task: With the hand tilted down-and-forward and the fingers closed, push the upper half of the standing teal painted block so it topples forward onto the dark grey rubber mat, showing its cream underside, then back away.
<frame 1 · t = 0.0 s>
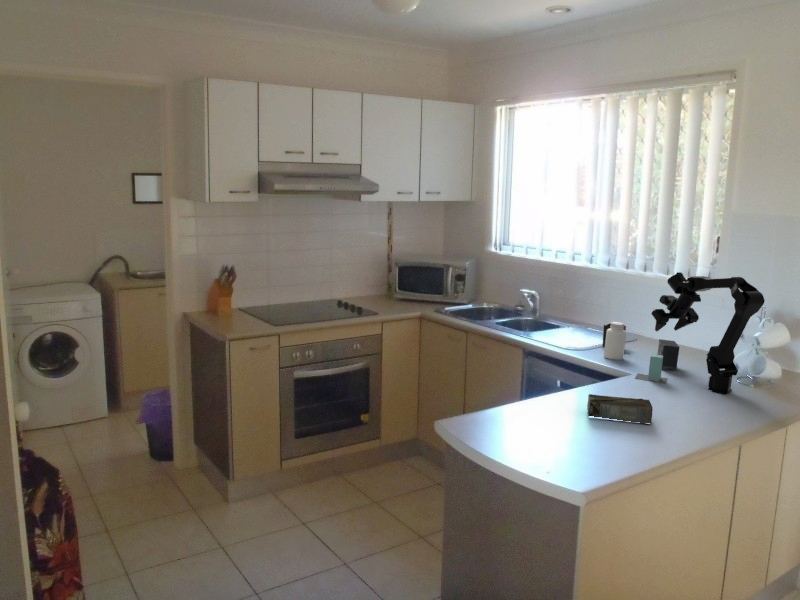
hand: (665, 330, 266), 15 cm above the worktop, tool tilted 35°, fingers open, 9 cm apart
pill bottle: (613, 358, 279), on the worktop
mat: (651, 379, 250), on the worktop
beverage carton: (617, 419, 209), on the worktop
block: (654, 379, 250), resting on mat
small box: (666, 368, 267), on the worktop
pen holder: (612, 347, 296), on the worktop
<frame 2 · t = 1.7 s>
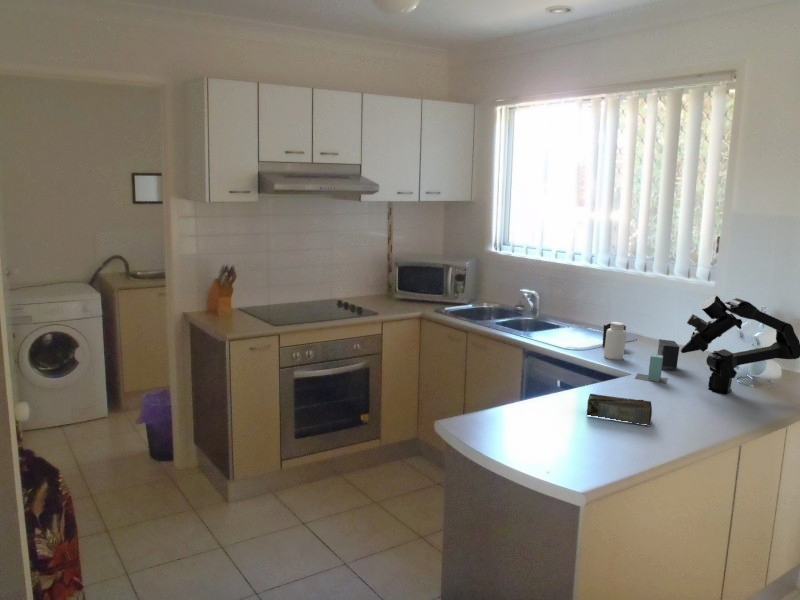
hand: (681, 351, 244), 13 cm above the worktop, tool tilted 45°, fingers closed
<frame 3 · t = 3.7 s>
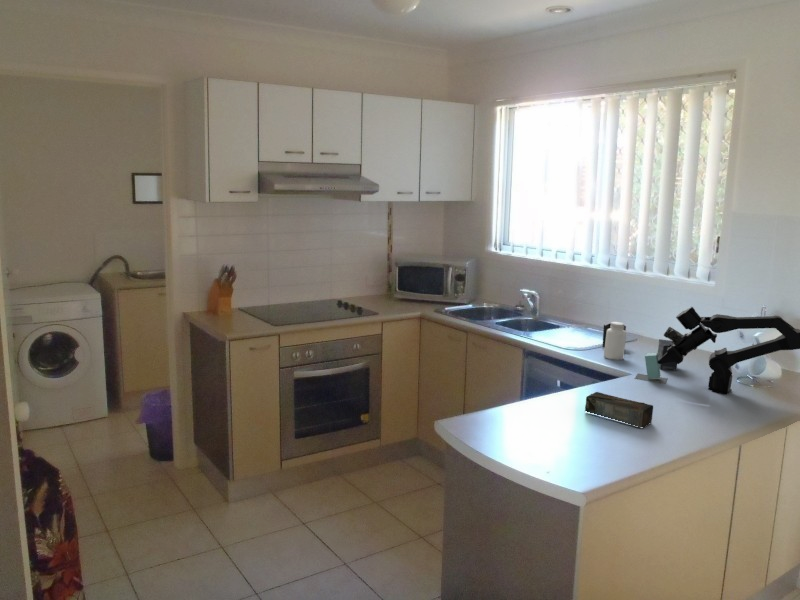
hand: (658, 362, 248), 7 cm above the worktop, tool tilted 45°, fingers closed
block: (654, 377, 250), point 1 cm above the worktop, tilted 13°, touching mat
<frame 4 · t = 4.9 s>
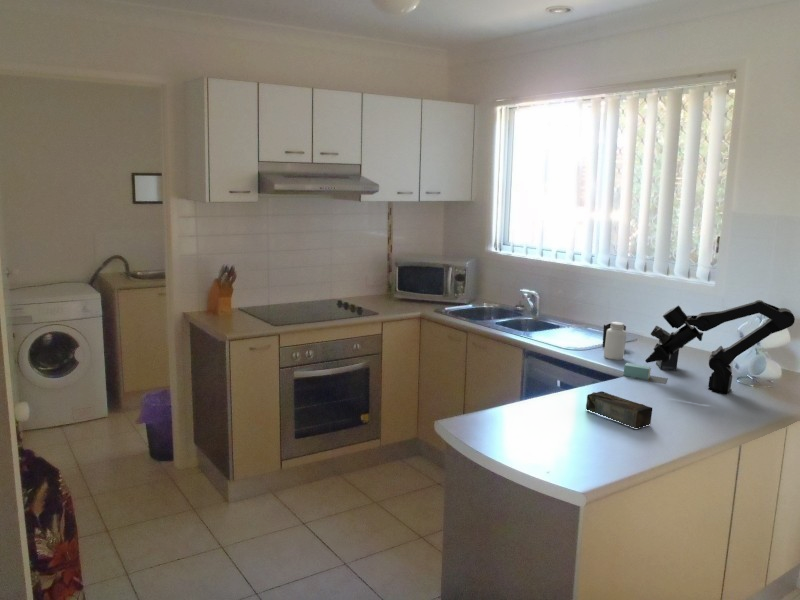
hand: (646, 361, 250), 7 cm above the worktop, tool tilted 45°, fingers closed
block: (649, 373, 250), point 2 cm above the worktop, tilted 90°, touching mat
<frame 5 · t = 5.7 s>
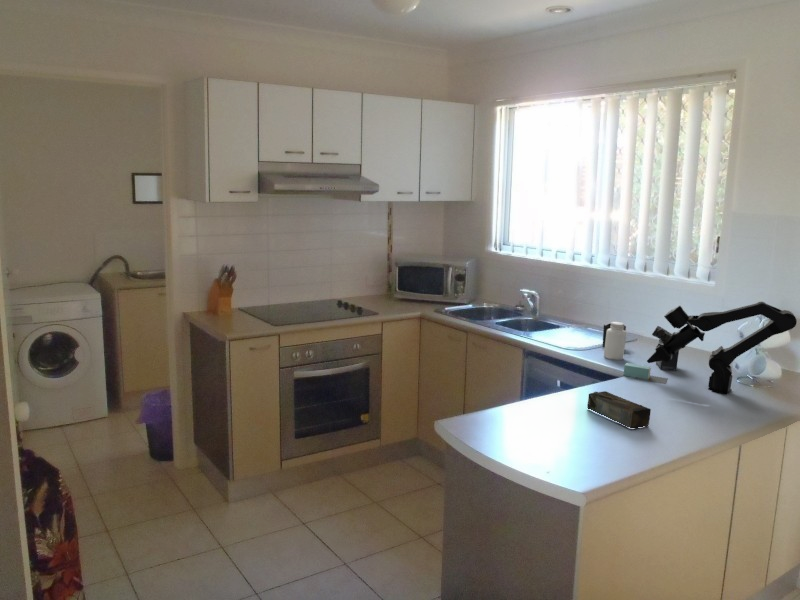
hand: (647, 361, 250), 7 cm above the worktop, tool tilted 45°, fingers closed
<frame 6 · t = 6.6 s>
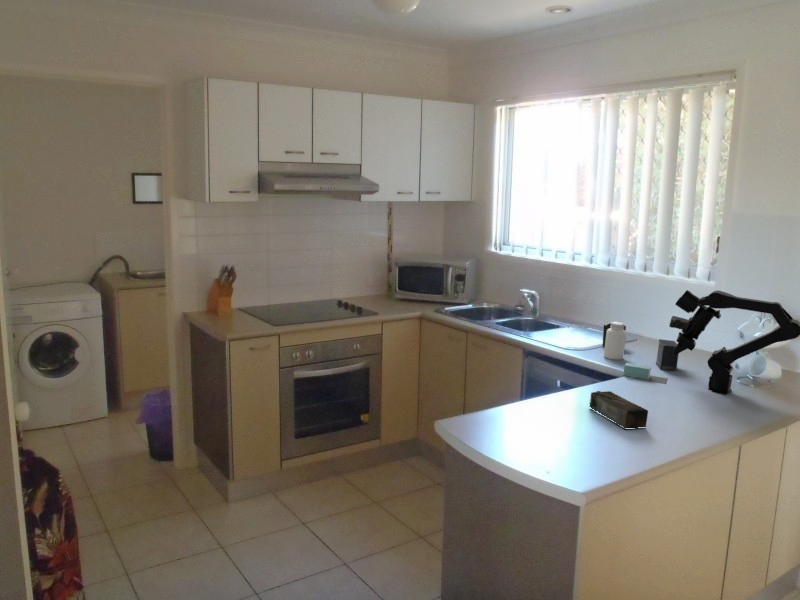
hand: (674, 353, 248), 11 cm above the worktop, tool tilted 30°, fingers closed
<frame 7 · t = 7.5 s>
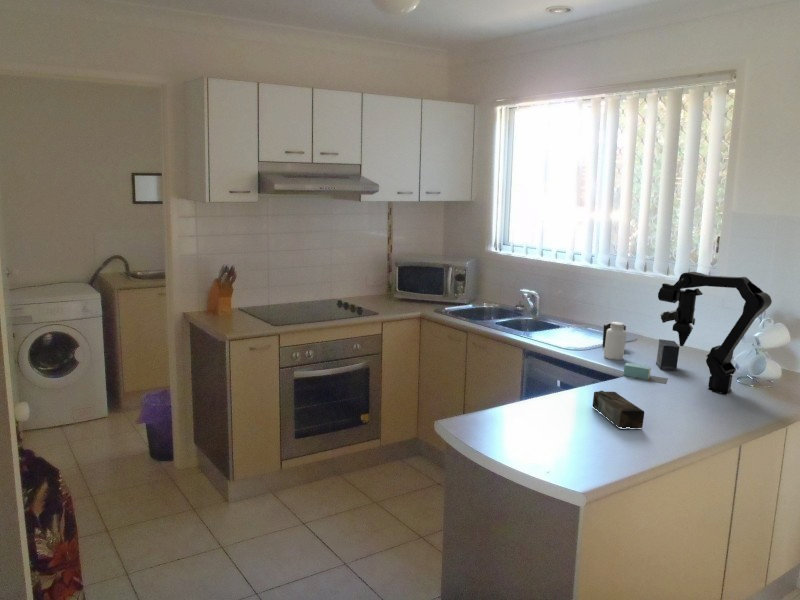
hand: (681, 346, 250), 13 cm above the worktop, tool pointing down, fingers closed
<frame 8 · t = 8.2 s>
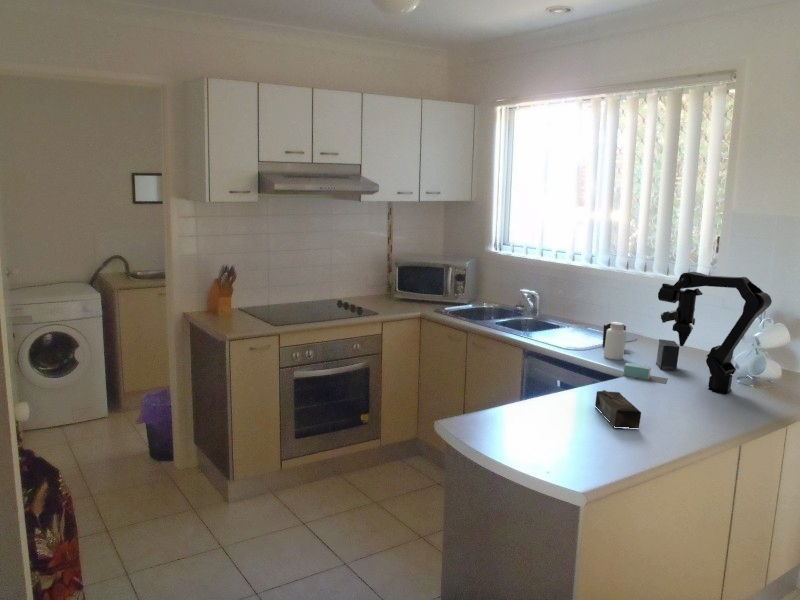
hand: (681, 346, 250), 13 cm above the worktop, tool pointing down, fingers closed
at the end: block tilted 90°; block 0.8 cm from the mat (horizontally); the gripper is holding nothing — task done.
